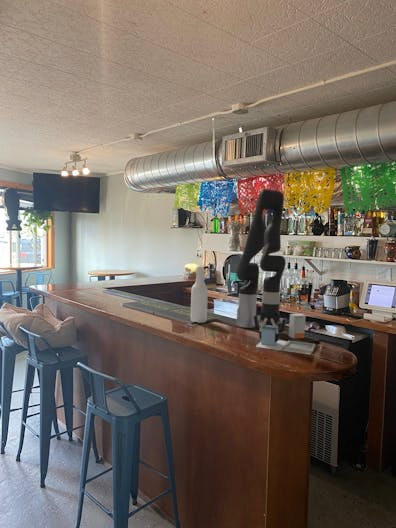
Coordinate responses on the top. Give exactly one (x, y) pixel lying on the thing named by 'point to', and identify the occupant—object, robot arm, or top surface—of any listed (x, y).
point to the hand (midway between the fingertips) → (268, 340)
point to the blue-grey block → (268, 335)
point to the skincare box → (297, 325)
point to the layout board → (290, 346)
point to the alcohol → (199, 298)
